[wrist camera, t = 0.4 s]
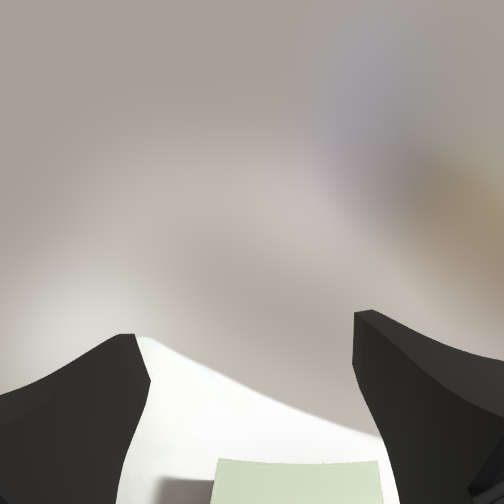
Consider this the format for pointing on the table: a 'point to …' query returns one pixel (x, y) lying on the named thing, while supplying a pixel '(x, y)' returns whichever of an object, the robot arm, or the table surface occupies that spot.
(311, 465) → the lid
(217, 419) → the table surface
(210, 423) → the table surface
